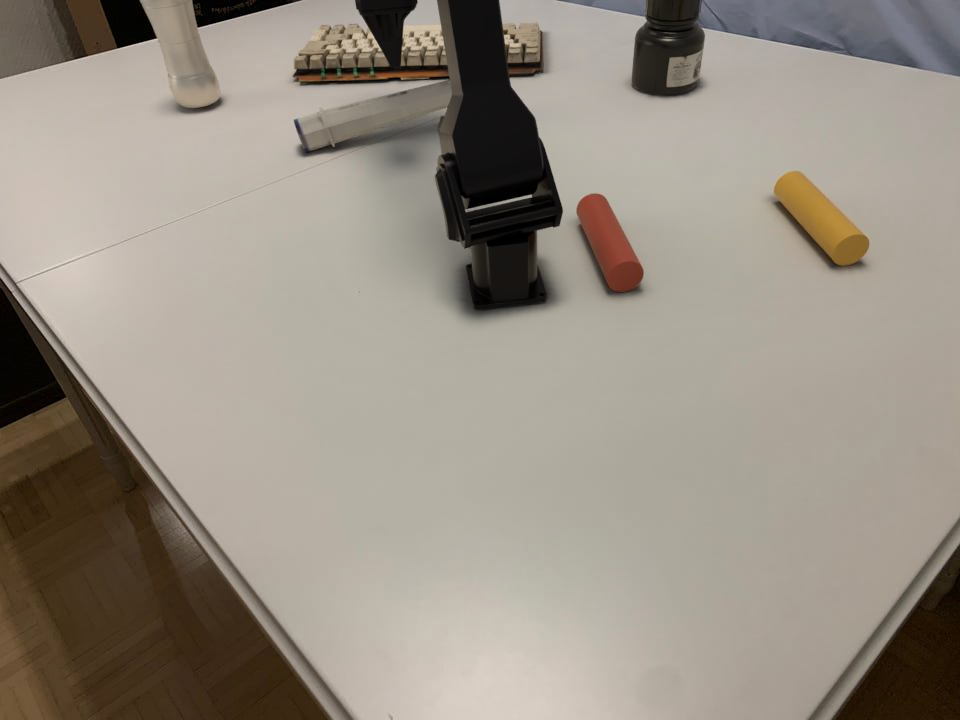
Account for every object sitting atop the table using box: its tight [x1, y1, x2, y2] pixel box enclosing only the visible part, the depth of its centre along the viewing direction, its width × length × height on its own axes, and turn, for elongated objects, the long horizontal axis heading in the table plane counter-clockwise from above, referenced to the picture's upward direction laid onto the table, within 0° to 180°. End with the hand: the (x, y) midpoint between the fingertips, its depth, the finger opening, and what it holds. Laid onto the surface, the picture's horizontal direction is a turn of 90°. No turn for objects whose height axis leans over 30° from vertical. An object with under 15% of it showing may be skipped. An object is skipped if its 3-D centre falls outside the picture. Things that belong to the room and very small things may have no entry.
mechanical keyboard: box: [292, 22, 544, 83], centre depth 108 cm, size 38×19×3 cm, turn 87°
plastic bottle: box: [139, 0, 221, 109], centre depth 94 cm, size 6×7×20 cm
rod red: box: [575, 192, 645, 293], centre depth 65 cm, size 12×3×3 cm, turn 7°
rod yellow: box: [773, 170, 870, 266], centre depth 66 cm, size 12×3×3 cm, turn 7°
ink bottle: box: [631, 0, 706, 95], centre depth 92 cm, size 10×9×12 cm
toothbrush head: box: [293, 79, 452, 153], centre depth 88 cm, size 5×7×25 cm
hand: (394, 53), depth 82 cm, fingers open, 9 cm apart
